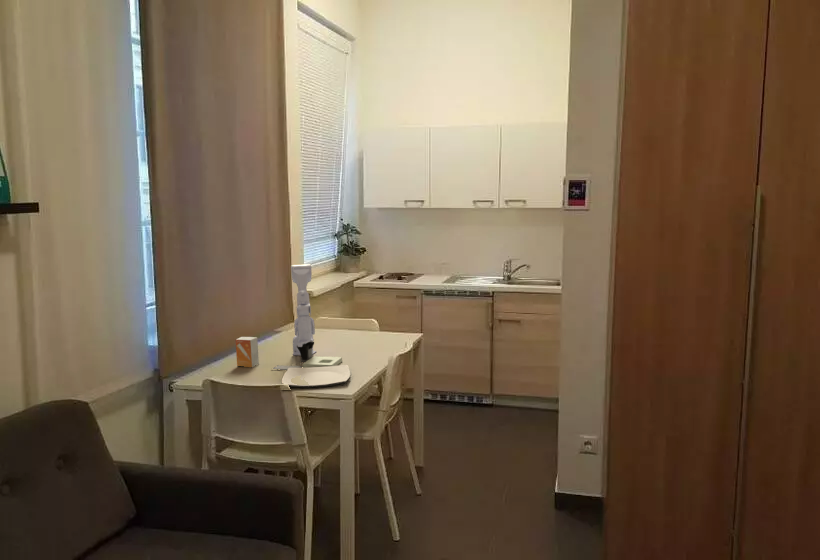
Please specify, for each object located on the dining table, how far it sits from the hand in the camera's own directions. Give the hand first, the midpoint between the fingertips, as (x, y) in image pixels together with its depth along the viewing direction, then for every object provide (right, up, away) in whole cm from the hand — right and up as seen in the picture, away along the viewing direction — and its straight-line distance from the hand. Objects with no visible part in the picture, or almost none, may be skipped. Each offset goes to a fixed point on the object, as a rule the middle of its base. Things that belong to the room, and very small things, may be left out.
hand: (306, 358), depth 320 cm
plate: (+9, -6, -30) cm, 32 cm away
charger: (0, -1, 0) cm, 1 cm away
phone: (-7, -4, -11) cm, 14 cm away
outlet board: (+9, -2, -7) cm, 11 cm away
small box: (-27, -3, -3) cm, 27 cm away
